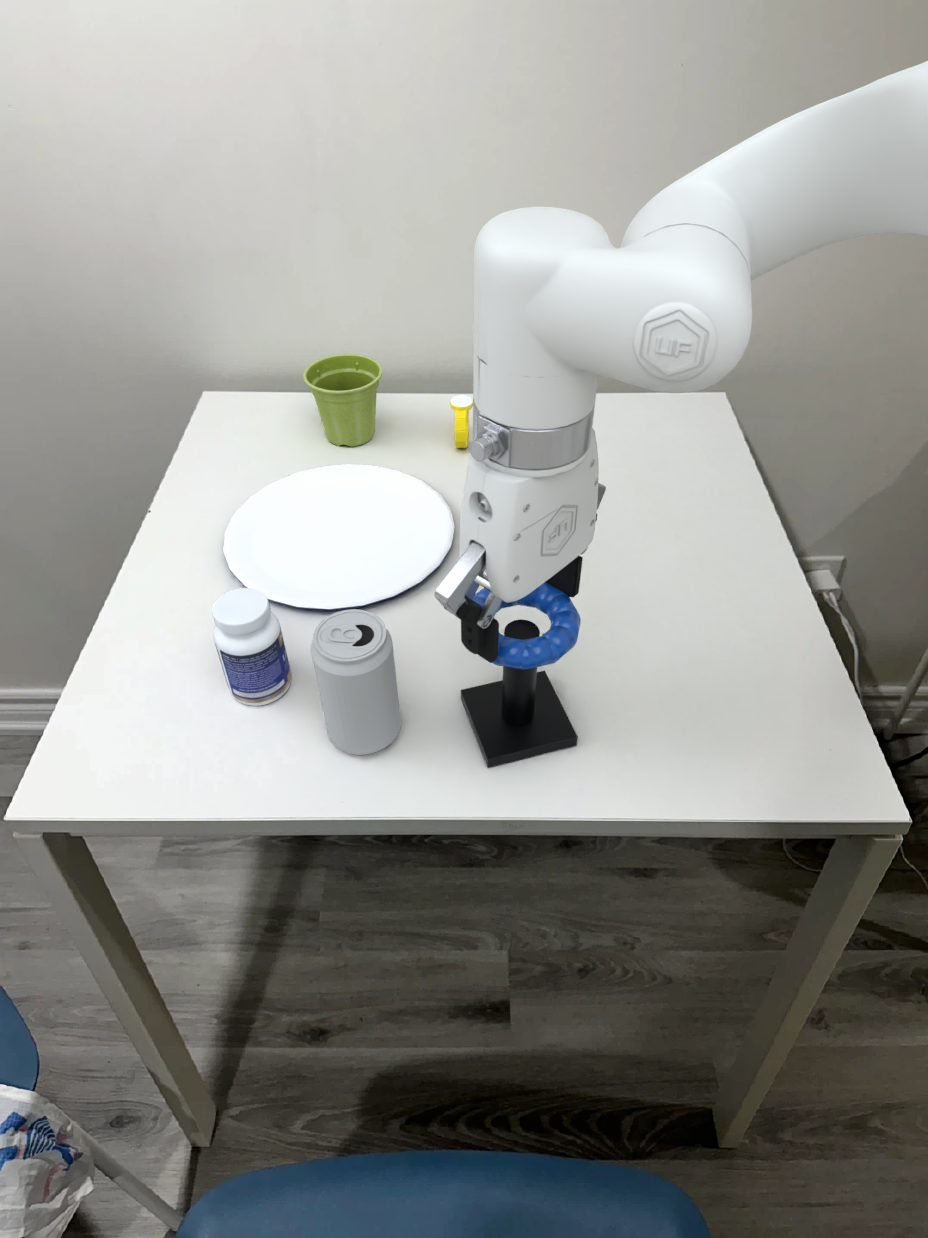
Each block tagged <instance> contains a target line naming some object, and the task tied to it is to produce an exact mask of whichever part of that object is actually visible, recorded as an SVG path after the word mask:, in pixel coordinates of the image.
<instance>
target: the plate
mask: <svg viewBox="0 0 928 1238" xmlns="http://www.w3.org/2000/svg"><path fill="white" fill-rule="evenodd" d="M444 499H445V498H443V496H442V495H441V494H440V492H438V491H437V490H436V489H435V488H433V487H431V485H429V484H428V483H426V482H425V481H423V480H422V479H420V478H417V477H416V476H413V475H410V474H408V473H406V472H404V471H402V470H398V469H393V468H390V467H389V468H388V467H384V466H380V465H374V464H360V463H359V464H357V463H356V464H355V463H342V464H333V465H322V466H317V467H313V468H310V469H305V470H301V471H297V472H294V473H291V474H289V475H287V476H285V477H284V476H283V477H282V478H279V479H277V480H275V481H273V482H270V483H269V484H267V485H266V486H264V487H263V488H261V489H259V490H258V491H257V492H255V493H253V494H252V495H251V496H249V497H248V498H247V499H246V500H245V501H244V502H243V503H242V505H240V506H239V507H238V509H237V510H236V511H235V512H234V513H233V515H232V516H231V518H230V520H229V523H228V525H227V527H226V529H225V531H224V534H223V535H224V537H223V548H222V549H223V550H222V552H223V556H224V557H225V560H226V563H227V566H228V568H229V571H230V572H231V573H232V574H233V576H234V577H235V578H236V579H237V580H238V581H239V582H240V583H241V584H242V586H243V587H244V588H253V589H257V590H259V591H261V592H263V593H264V594H265V595H266V597H267V598H268V601H270V602H273V603H278V604H281V605H284V606H288V607H292V608H296V609H305V610H318V611H335V610H347V609H356V608H361V607H362V608H363V607H366V606H370V605H373V604H376V603H379V602H383V601H387V600H390V599H393V598H395V597H397V596H399V595H401V594H403V593H404V592H407V591H408V590H410V589H412V588H414V587H417V586H418V585H420V584H421V583H423V582H424V580H426V579H427V578H429V576H430V575H432V574H433V573H434V572H435V571H436V570H437V569H439V567H441V565H442V563H443V562H444V560H445V558H446V556H447V555H448V553H449V552H450V550H451V548H452V545H453V541H454V540H453V539H454V534H455V529H456V527H455V523H454V518H453V514H452V513H453V512H452V510H451V507H450V506H449V505H448V504H447V502H446V501H445V500H444Z"/></svg>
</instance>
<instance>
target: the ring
mask: <svg viewBox="0 0 928 1238" xmlns="http://www.w3.org/2000/svg"><path fill="white" fill-rule="evenodd" d="M489 593H490V591H489V590H487V589H485V588H484V587H482V589H480V590H479V591H477V592H476V594H475V596H474V598H473V600H472V601H475V602H476V603H478V604H479V605H481V606H482V607H483V606H484V604H485V602H486V600H487V597H488V595H489ZM516 606H522V607H529V608H534V609H537V611H540V612H541V613H543V614H545V615H547V617H548V619H549V621H550V626H549V629H548V630H546V631H545V632H544V633H543V634H541V636H540V637H536V638H531V639H527V640H521V639H515V638H509V637H505V636H504V634H503V633H501V632H499V641H498V657H497V659H496V660H495V661H494V662H493V663H492V664H493V665H495V666H499V667H503V666H504V667H510V668H516V669H522V670H528V669H532V668H536V667H537V668H540V667H545V666H550V665H554V664H555V663H556V662H558V661H559V660H560V659H561V658H563V657H564V656H565V655H566V654H568V653H569V651H571V650H572V649H573V648H574V647H576V645H577V643H578V642H577V641H578V637H579V633H580V628H581V623H582V622H581V621H582V619H581V615H580V613H579V611H578V610H577V608H576V606H575V604H574V602H573V601H572V599H571V597H569V596H568V595H567V594H565V593H564V592H562V591H560V590H559V589H557V588H555V587H554V586H552V585H550V584H548V583H547V582H544V583H543V584H542V585H540V586H539V587H538V588H536V589H535V590H534V591H532V592H531V593H529V594H528V595H526V596H525V597H523V598H521V599H519V600H517V601H514V602H509V603H507V602H505V601H503V600H502V602H501V604H500V606H499V609H498V611H497V613H499V612H500V611H501V610H503V609H507V608H511V607H516Z"/></svg>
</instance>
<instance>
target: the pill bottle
mask: <svg viewBox="0 0 928 1238" xmlns="http://www.w3.org/2000/svg"><path fill="white" fill-rule="evenodd" d="M211 614H212V618H213V623H214V627H213V633H212V638H213V642H214V646H215V649H216V652H217V655H218V658H219V662H220V665H221V668H222V669H221V670H222V671H223V675H224V678H225V682H226V685H227V688H228V691H229V692H230V695H231V696H232V698H234V699H235V700H236V701H237V702H238V703H241V704H243V705H246V706H255V707H257V706H264V705H269V704H271V703H273V702H276V701H277V700H279V699H280V698H282V697H283V696H284V695H285V693H286V692H287V691H288V689H289V688H290V686H291V683H292V671H291V667H290V666H291V665H290V662H289V657H288V654H287V649H286V645H285V641H284V636H283V632H282V628H281V627H282V626H281V624H280V621H279V618H278V617H277V616H276V614H275V613H274V612H273V611H272V609H271V606H270V602H269V600H268V598H267V597H266V595H265V594H264V593H263V592H261V591H259V590H257V589H253V588H246V587H238V588H234V589H231V590H228V591H226V592H224V593H223V594H221V595H220V596H219V597H217V599H216V600H215V602H214V603H213V605H212V608H211Z"/></svg>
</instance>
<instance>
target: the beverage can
mask: <svg viewBox="0 0 928 1238" xmlns="http://www.w3.org/2000/svg"><path fill="white" fill-rule="evenodd" d="M393 643H394V642H393V638H392V635H391V633H390V631H389V630H388V628H387V627H386V625H385V623H384V621H383V620H382V619H381V618H380V617H379V616H378V615H376V613H375V614H374V613H373V612H370V611H368V610H364V609H359V608H358V609H357V608H349V609H342V610H340V611H336V612H333V613H332V614H330V615H327V616H326V617H325V618H324V619H322V620H321V621H320V622H319V623H318V624H317V626H316V628H315V629H314V632H313V638H312V641H311V645H310V655H311V661H312V666H313V671H314V674H315V675H314V676H315V680H316V685H317V690H318V694H319V699H320V704H321V709H322V714H323V718H324V723H325V728H326V733H327V736H328V738H329V740H330V741H331V743H332V744H333V745H334V746H335V748H337V749H339V750H341V752H345V753H348V754H352V755H359V756H361V755H370V754H374V753H377V752H379V751H382V750H384V749H385V748H387V747H388V746H390V745H391V744H392V742H394V740H395V739H396V738H397V737H398V735H399V733H400V730H401V724H402V718H401V709H400V701H399V700H400V699H399V690H398V682H397V671H396V664H395V652H394V644H393Z"/></svg>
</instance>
